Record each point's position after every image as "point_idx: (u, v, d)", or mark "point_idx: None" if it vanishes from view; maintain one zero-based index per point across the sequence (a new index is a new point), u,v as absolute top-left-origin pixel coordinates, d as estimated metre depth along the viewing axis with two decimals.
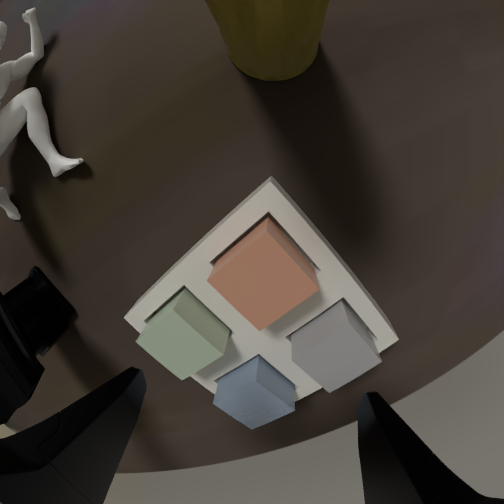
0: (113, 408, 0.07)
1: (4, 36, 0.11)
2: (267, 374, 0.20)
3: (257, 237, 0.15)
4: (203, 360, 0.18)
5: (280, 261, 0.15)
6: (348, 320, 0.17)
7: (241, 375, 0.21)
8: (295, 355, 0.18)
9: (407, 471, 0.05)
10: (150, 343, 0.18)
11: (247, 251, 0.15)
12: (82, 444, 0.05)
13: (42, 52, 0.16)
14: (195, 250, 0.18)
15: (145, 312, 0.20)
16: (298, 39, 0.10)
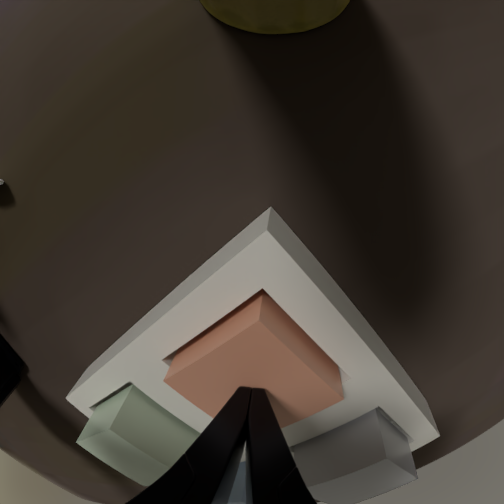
0: (241, 436, 0.07)
1: None
2: None
3: (242, 328, 0.08)
4: None
5: (283, 366, 0.08)
6: (385, 450, 0.08)
7: None
8: None
9: (252, 478, 0.05)
10: (93, 449, 0.10)
11: (224, 349, 0.08)
12: (222, 484, 0.05)
13: None
14: (137, 340, 0.10)
15: (88, 399, 0.12)
16: None
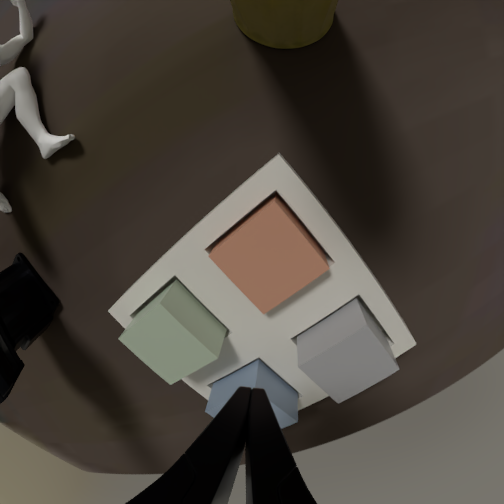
0: (241, 435, 0.07)
1: None
2: (268, 380, 0.18)
3: (264, 209, 0.14)
4: (194, 363, 0.16)
5: (289, 236, 0.14)
6: (365, 321, 0.14)
7: (238, 380, 0.18)
8: (302, 361, 0.15)
9: (252, 478, 0.05)
10: (134, 341, 0.16)
11: (253, 223, 0.14)
12: (222, 484, 0.05)
13: (31, 34, 0.13)
14: (188, 234, 0.16)
15: (131, 305, 0.18)
16: None
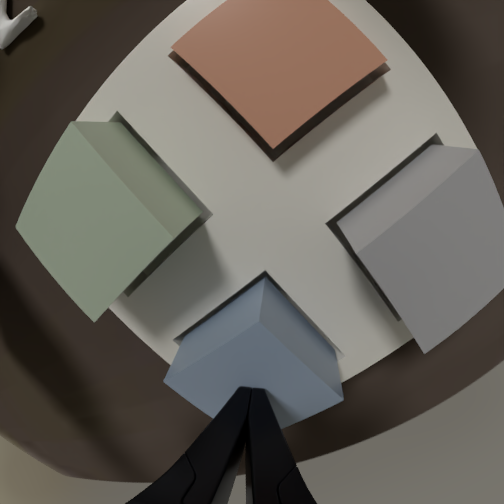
0: (241, 436, 0.07)
1: None
2: (284, 315, 0.09)
3: None
4: (129, 260, 0.07)
5: (310, 5, 0.06)
6: None
7: (227, 318, 0.10)
8: (362, 242, 0.07)
9: (252, 478, 0.05)
10: (34, 226, 0.07)
11: None
12: (222, 484, 0.05)
13: None
14: (145, 39, 0.07)
15: None
16: None
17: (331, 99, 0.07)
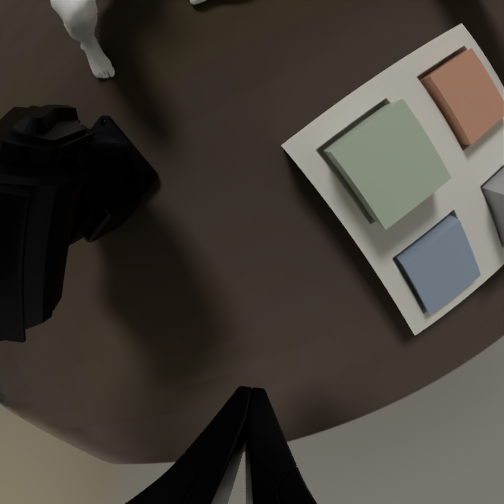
0: (241, 435, 0.07)
1: None
2: None
3: (465, 51, 0.10)
4: (426, 187, 0.12)
5: (483, 76, 0.10)
6: None
7: None
8: None
9: (252, 478, 0.05)
10: (356, 154, 0.12)
11: (460, 58, 0.10)
12: (222, 484, 0.05)
13: None
14: (402, 60, 0.12)
15: (323, 134, 0.14)
16: None
17: (490, 126, 0.11)
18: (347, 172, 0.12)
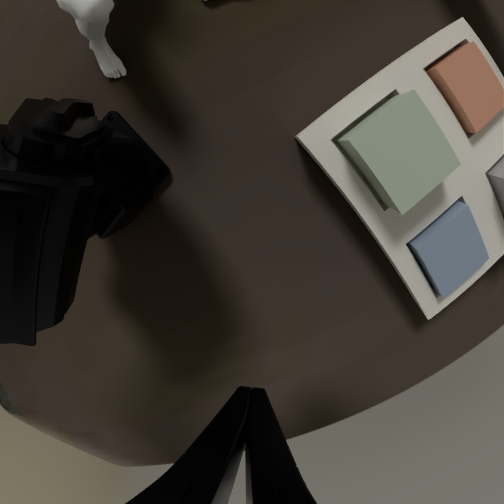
0: (241, 436, 0.07)
1: None
2: None
3: (467, 44, 0.10)
4: (438, 173, 0.12)
5: (485, 68, 0.10)
6: None
7: None
8: None
9: (252, 478, 0.05)
10: (373, 142, 0.12)
11: (463, 51, 0.10)
12: (222, 484, 0.05)
13: None
14: (409, 53, 0.12)
15: (337, 125, 0.14)
16: None
17: (493, 115, 0.11)
18: (365, 160, 0.12)
